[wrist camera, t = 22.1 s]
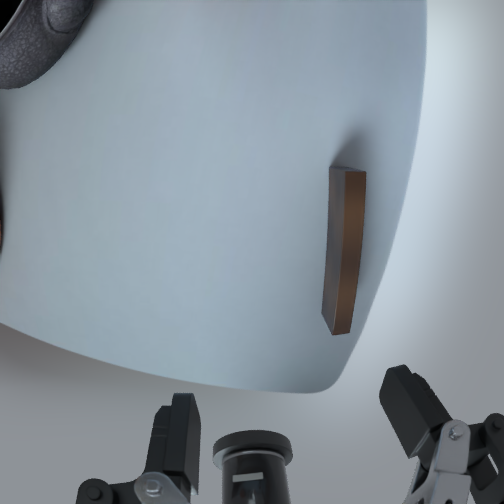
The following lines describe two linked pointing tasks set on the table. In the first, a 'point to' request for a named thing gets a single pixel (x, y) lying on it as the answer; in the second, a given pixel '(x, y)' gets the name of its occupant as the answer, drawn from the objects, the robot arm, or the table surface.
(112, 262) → the table surface
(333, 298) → the stick
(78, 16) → the teapot
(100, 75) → the table surface
